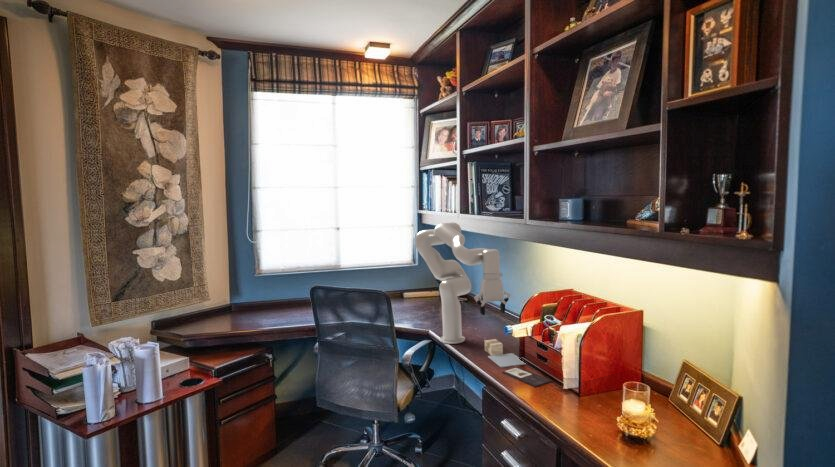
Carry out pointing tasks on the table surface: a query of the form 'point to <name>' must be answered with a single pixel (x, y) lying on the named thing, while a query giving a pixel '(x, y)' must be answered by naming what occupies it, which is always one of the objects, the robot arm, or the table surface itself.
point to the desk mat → (506, 360)
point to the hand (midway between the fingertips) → (492, 313)
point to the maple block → (493, 347)
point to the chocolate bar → (527, 377)
